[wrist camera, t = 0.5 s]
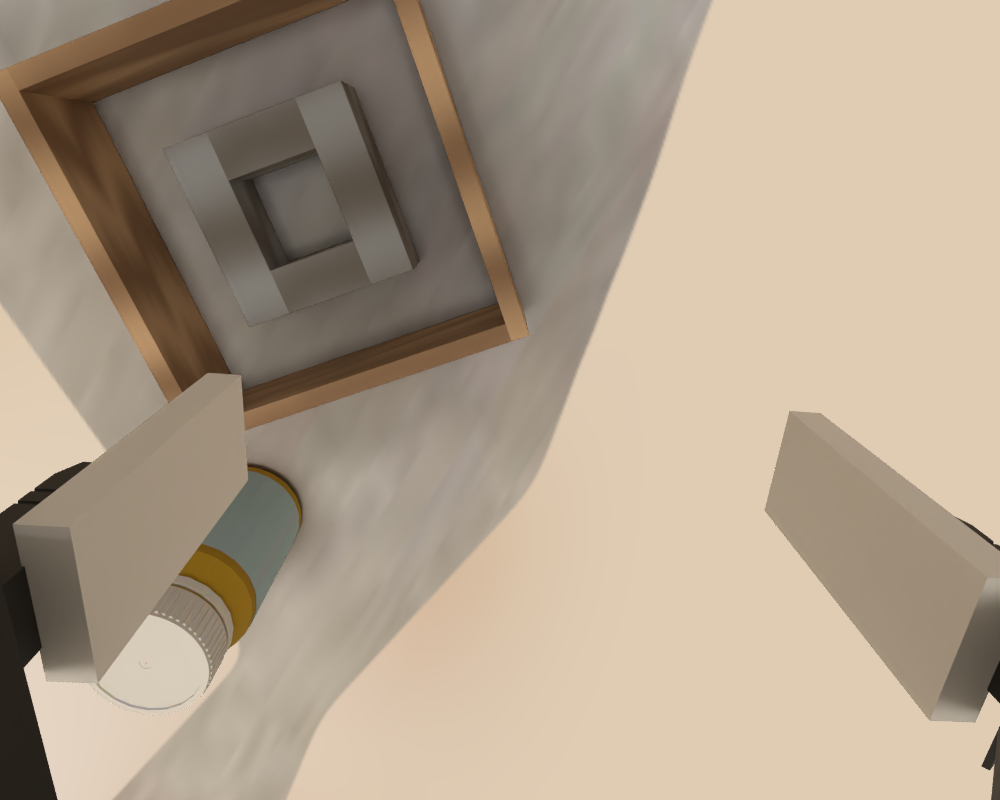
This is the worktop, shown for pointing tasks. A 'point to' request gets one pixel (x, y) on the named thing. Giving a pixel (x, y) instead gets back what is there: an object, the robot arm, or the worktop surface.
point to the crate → (246, 200)
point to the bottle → (207, 603)
